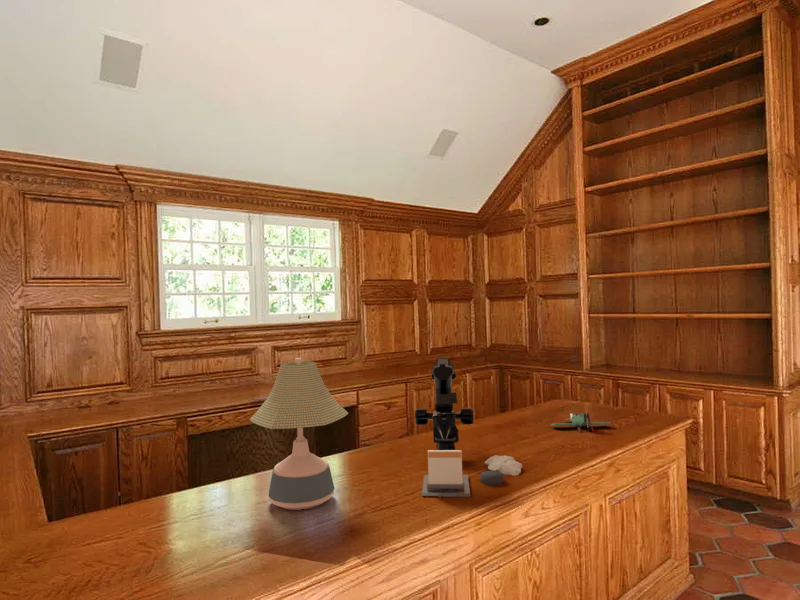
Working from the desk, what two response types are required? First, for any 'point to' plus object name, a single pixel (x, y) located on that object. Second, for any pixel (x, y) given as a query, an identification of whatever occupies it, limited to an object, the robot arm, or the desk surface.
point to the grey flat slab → (446, 492)
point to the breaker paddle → (445, 469)
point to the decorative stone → (504, 465)
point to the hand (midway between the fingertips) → (444, 439)
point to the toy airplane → (580, 421)
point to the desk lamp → (299, 434)
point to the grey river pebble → (491, 478)
